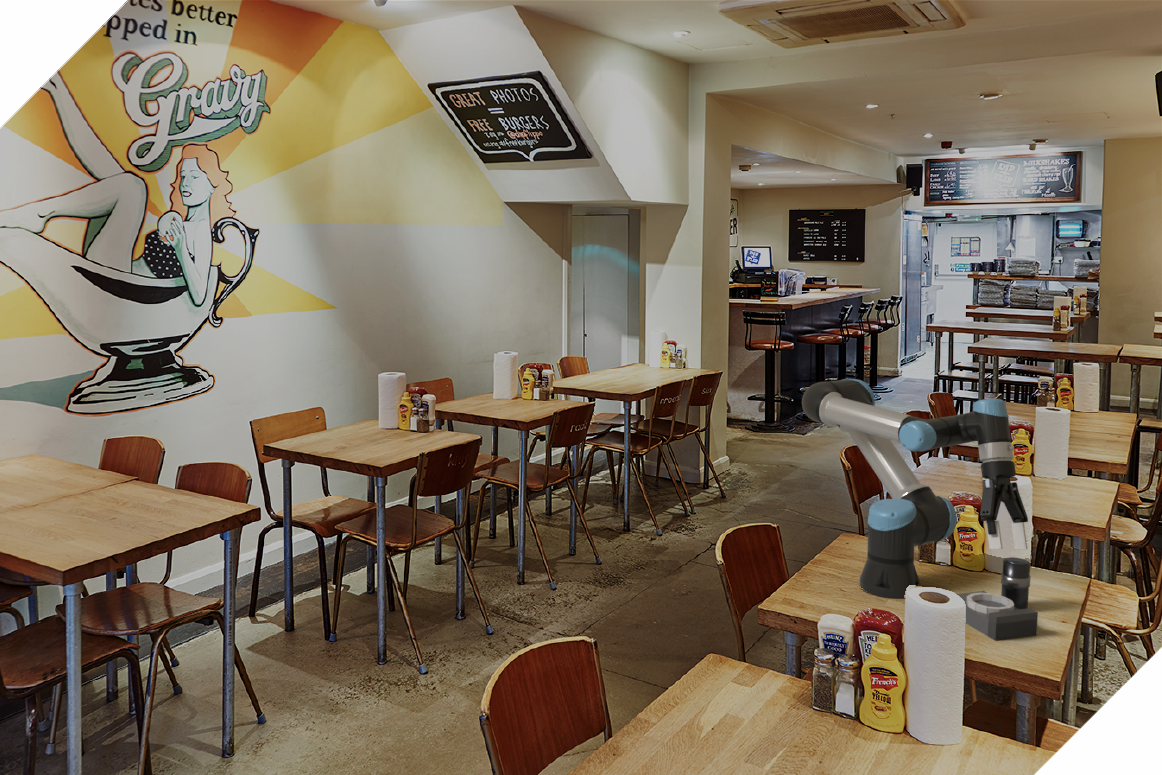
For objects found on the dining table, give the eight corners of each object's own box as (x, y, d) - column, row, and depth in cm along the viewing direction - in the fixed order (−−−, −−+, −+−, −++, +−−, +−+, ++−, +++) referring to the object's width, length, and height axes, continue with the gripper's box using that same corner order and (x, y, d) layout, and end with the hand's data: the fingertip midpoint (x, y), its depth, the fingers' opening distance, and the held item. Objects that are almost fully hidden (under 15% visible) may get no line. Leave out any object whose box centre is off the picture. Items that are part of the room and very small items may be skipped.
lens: (994, 604, 215) (996, 557, 213) (1015, 601, 216) (1018, 555, 215) (1012, 614, 209) (1014, 566, 207) (1034, 611, 210) (1037, 563, 209)
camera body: (944, 610, 212) (945, 589, 211) (983, 606, 214) (984, 584, 213) (995, 640, 194) (996, 617, 194) (1036, 635, 197) (1037, 612, 196)
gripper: (989, 455, 199) (1001, 547, 194) (1034, 463, 215) (1046, 549, 210) (957, 459, 204) (968, 549, 199) (1004, 467, 220) (1015, 550, 215)
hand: (1008, 549), depth 205 cm, fingers open, 13 cm apart
